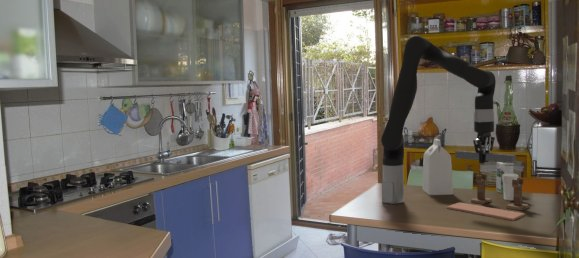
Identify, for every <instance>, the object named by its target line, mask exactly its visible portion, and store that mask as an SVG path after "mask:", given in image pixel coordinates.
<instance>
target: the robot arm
mask: <svg viewBox="0 0 579 258" xmlns="http://www.w3.org/2000/svg"><path fill="white" fill-rule="evenodd" d="M421 60H425V61H428V62H431V63H433V64H435V65H437V66H440V67H441V68H442V69H444V70H445V71H446V72H448V73H450V74H452V75H454V76H456V77H458V78H460V79H463V80H464V81H465V82H467V83H469V84H470V85H472V86H473V87H476V88H477V95H476V96H474V97H475V98H474V112H473V113H474V114H473V131H474V132H475V133H477V135H476V139H473V140H472V142H473V146H474V150H475V151H474V152H476V153H478V154H479V160H478V162H479V164H485V163H489V162H490V161H485V152H487V153H491V151H493V149H494V143H495V139H496V138H495V136H492V133H493V132H495V111H494V95H495V90H496V84H497V83H496V81H497V80H496V76H495V74H494V73H493V72H492V71H490V70H483V69H482V68H481V69H480V68H479V67H476V66H474V65H473V63H471V62H470V61H467V60H466V59H463V58H461V57H458V56H456V55H453V54H451V53H449V52H447V51H444V50H443V49H440V48H439V47H437V46H436V45H435V44H434V43H432V42H431V41H429V40H428V39H427V38H425V37H423V36H420V35H412V36H411V37H409V38H408V39H407V40H406V43H405V46H404V49H403V57H402V62H401V68H400V70H399V73H398V78H397V82H396V85H395V88H394V92H393V94H392V95H393V96H392V99H391V105H390V110H389V115H388V120H387V123H386V125H385V128H384V130H383V133H382V135H381V137H380V140H381V145H382V147H383V154H382V155H383V156H382V181H381V202H382V203H385V204H391V205H395V204H402V203H404V202H405V200H404V199H405V198H404V197H405V196H404V195H405V194H404V193H405V192H404V190H405V189H404V187H405V186H404V183H405V182H404V157H405V137H404V134H403V132H404V126H405V124H406V120H407V119H408V116H409V114H410V111H411V109H412V107H413V105H414V102H415V98H416V95H417V92H418V91H417V90H418V67H419V63H420V62H421Z"/></svg>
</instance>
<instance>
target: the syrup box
mask: <svg viewBox="0 0 579 258" xmlns="http://www.w3.org/2000/svg"><path fill="white" fill-rule="evenodd" d="M514 164H515V163H503V162H496V185H495V187H496V190H495V191H496V192H497V193H501V194H504V192H503V180H502V175H503V174H514V169H515V168H514Z"/></svg>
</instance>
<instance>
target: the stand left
mask: <svg viewBox="0 0 579 258" xmlns="http://www.w3.org/2000/svg"><path fill="white" fill-rule="evenodd" d="M487 176H488V175H487V173H480V175H478V174H476V175H475V183H477V184H476V185H477V186H476V189H477V191H476V195H477V196H476V197H474V198H471V199H470V203H475V204H479V205H480V204H481V205H486V204H488V202H489V203H491V202H492V200H493V199H492V198H488V197H486V182H487V180H488V179H487Z"/></svg>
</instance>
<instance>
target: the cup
mask: <svg viewBox="0 0 579 258" xmlns="http://www.w3.org/2000/svg"><path fill="white" fill-rule="evenodd" d="M517 178H519V175H518V174H515V173H513V174H503V175H502V180H503V192H504V193H503V199H504V200H505V201H514V187H512V180H513V179H514V180H517Z"/></svg>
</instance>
